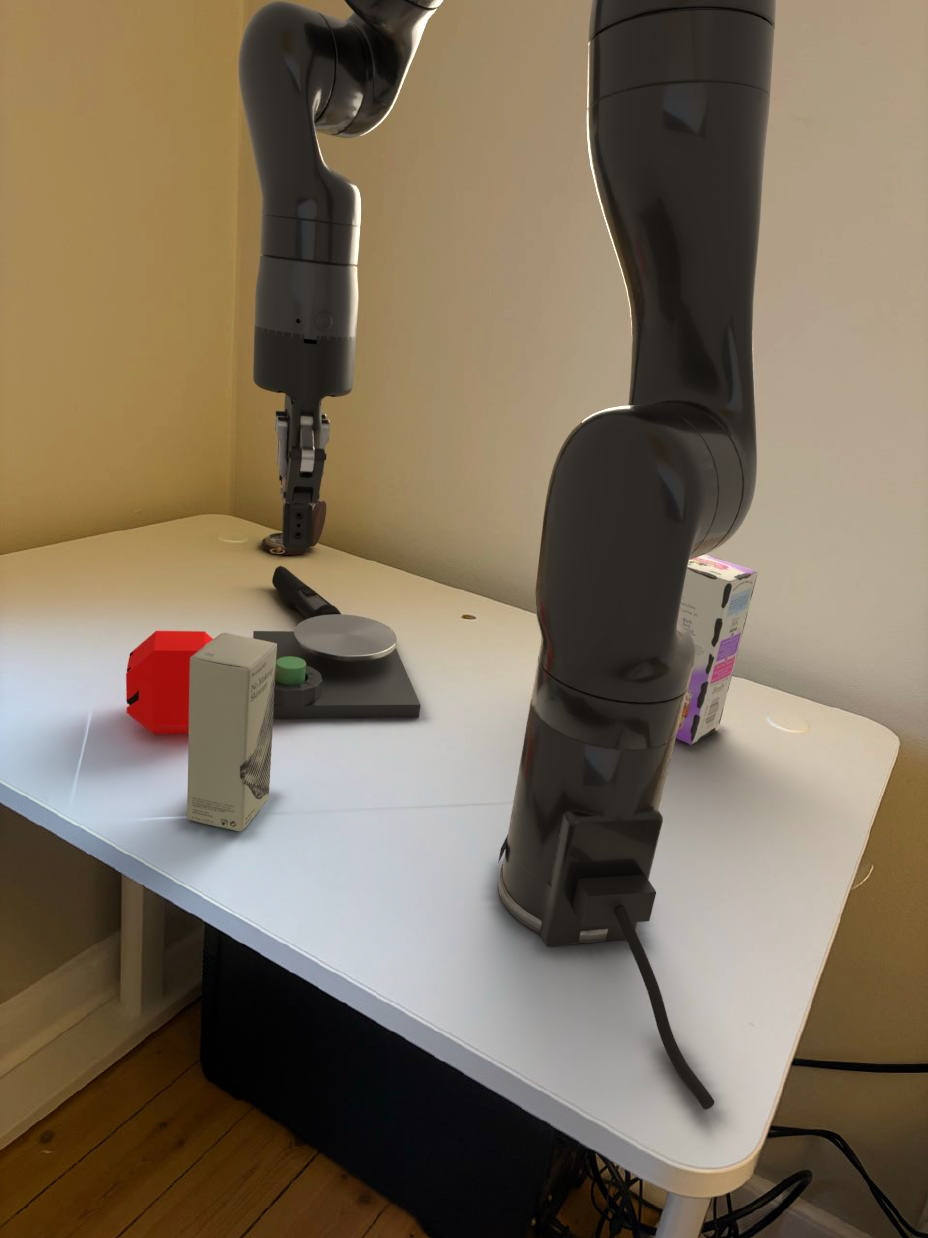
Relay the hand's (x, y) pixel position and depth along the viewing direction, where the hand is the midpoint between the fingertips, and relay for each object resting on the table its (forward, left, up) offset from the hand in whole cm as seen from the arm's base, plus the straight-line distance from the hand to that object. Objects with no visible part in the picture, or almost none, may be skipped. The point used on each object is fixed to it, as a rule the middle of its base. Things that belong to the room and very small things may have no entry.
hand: (296, 546), depth 75 cm
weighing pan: (+10, -6, -13) cm, 17 cm away
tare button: (+2, 0, -13) cm, 13 cm away
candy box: (0, -35, -16) cm, 38 cm away
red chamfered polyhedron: (-1, +9, -16) cm, 18 cm away
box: (-14, +5, -16) cm, 22 cm away
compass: (+44, -4, -16) cm, 47 cm away
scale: (+7, -5, -16) cm, 18 cm away
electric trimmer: (+23, -4, -16) cm, 28 cm away
